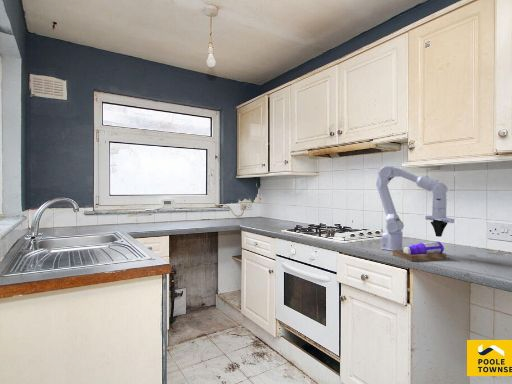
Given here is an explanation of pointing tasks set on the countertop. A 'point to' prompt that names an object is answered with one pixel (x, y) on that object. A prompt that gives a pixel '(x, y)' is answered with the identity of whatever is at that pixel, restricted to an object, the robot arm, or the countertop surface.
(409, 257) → the cradle
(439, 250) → the bottle
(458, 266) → the countertop surface
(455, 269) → the countertop surface
